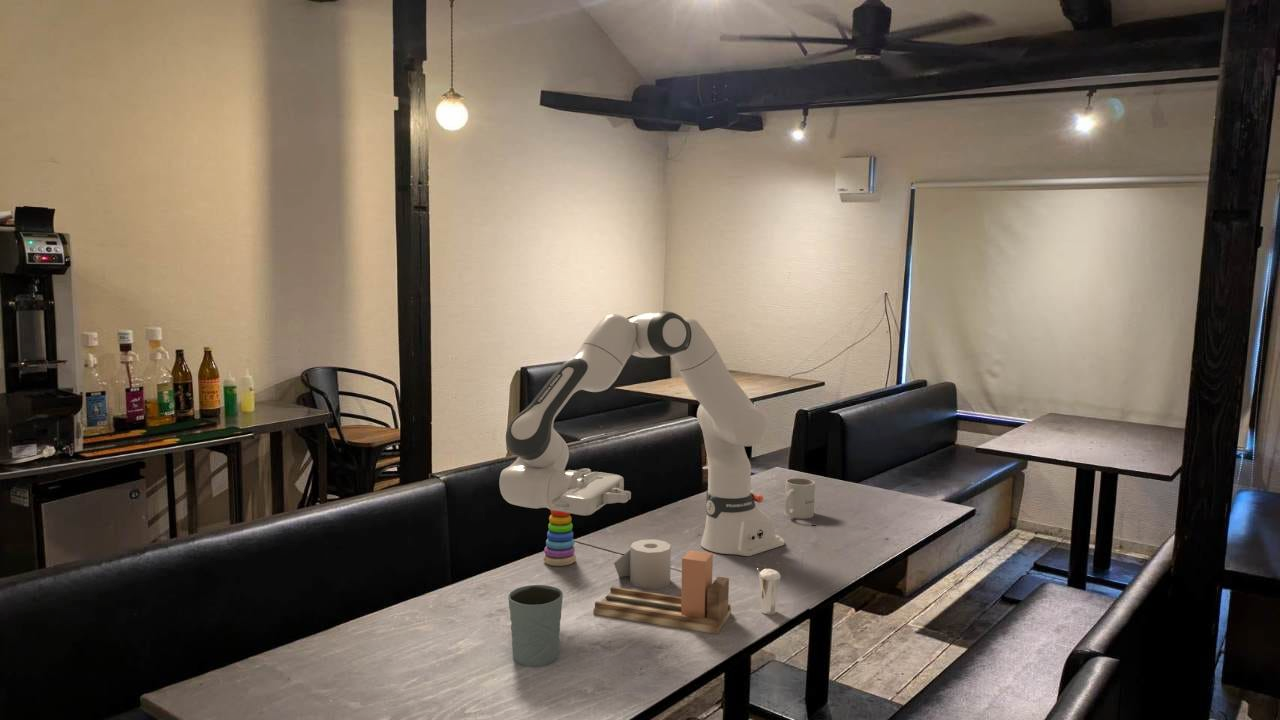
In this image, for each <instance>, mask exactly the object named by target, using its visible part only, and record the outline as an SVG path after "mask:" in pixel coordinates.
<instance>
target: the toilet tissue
mask: <svg viewBox="0 0 1280 720" xmlns="http://www.w3.org/2000/svg"><path fill="white" fill-rule="evenodd" d="M671 557H672V545H671V543H668V542H667V541H664V540H660V539H654V538H653V539H640V540H637V541H633V542H632V543H631V545H630V549H628V551H626V552H625V553H624V554H623V555H622V556H621V557H619V558H618V559H617V560H616V561H615V562H614V563H613V565H614V567H615V570H616V573H617V575H618V578H624V577H629V579H630V580H629V583H630V584H632V585H633V586H634V587H636V588H639V589H645V590H657V589H658V590H659V589H663V588H665V587H668V586H670V583H671V568H672V565H671V563H672V560H671V559H672V558H671Z"/></svg>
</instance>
